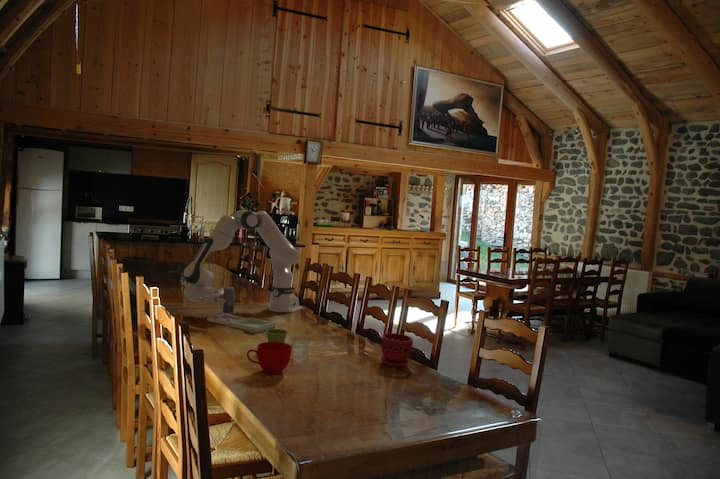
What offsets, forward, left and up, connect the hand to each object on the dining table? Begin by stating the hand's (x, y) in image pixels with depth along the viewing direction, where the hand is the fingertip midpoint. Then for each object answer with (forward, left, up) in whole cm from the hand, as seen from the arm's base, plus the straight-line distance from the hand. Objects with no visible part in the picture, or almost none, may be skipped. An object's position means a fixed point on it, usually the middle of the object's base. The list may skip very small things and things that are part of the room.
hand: (230, 299), depth 282 cm
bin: (0, +16, -12) cm, 20 cm away
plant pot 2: (+6, +98, -12) cm, 99 cm away
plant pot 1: (+25, +49, -12) cm, 57 cm away
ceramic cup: (+50, +64, -12) cm, 82 cm away
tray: (0, -1, -12) cm, 12 cm away
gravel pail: (0, -1, -7) cm, 7 cm away
